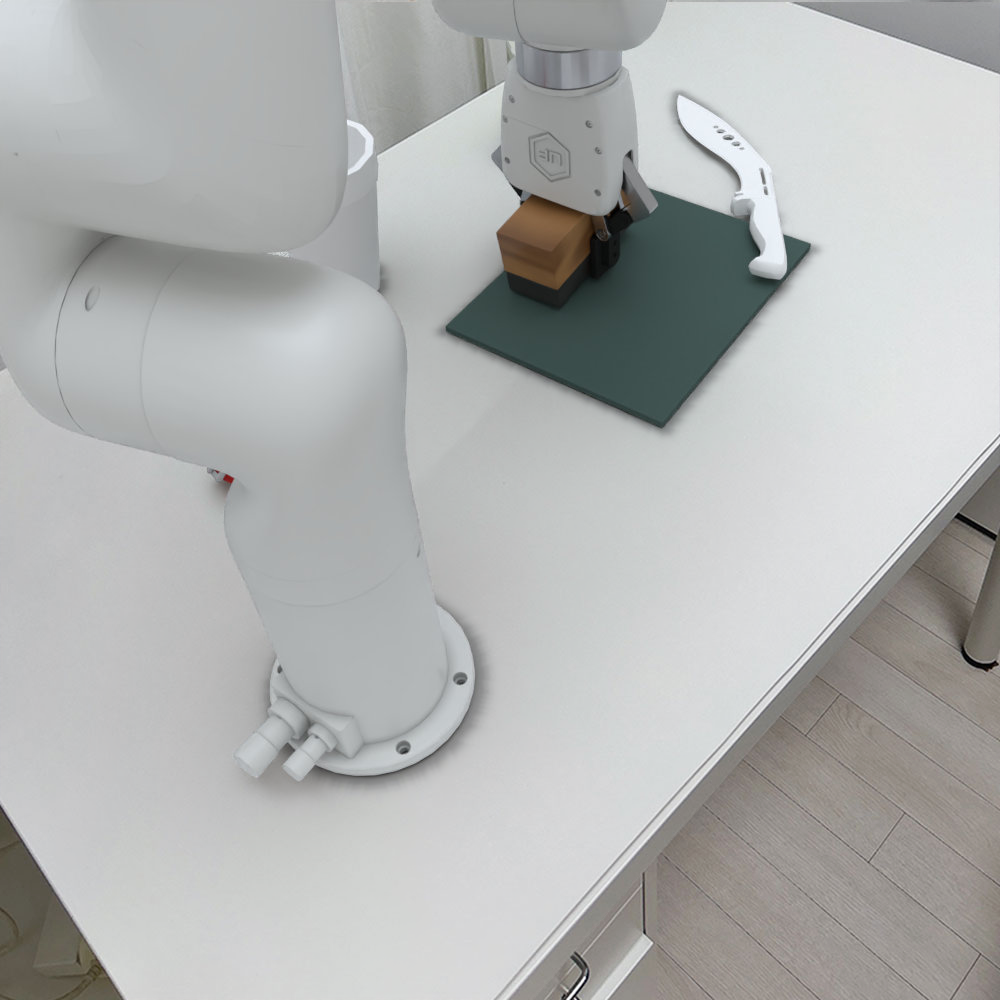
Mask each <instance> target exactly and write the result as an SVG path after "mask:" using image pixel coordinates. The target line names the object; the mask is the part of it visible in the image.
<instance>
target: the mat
mask: <svg viewBox="0 0 1000 1000" xmlns="http://www.w3.org/2000/svg"><path fill="white" fill-rule="evenodd" d="M648 188H649V190H650V191H651V193H652V194H653V196H654V198H655V199H656V201H657V203H658V208H657V209H656V210H655V211H654V212H653V213H652V214H651V215H650V216H649V217H648V218H645V219H643V220H641V221H639V222H636V223H633V224H631V225H630V227H629V228H628V229H627V230H626V231H625V232H624V234H623V235H622V236H621V237H620V257H619V260H618V262H617V263H616V264H615V265H614V266H613V267H612V268H609V269H608V270H607V271H606V272H605V273H604V274H603V275H602V276H601V277H600V278H599V279H595V278H593V277H591V275H590V273H589V274H588V276H587V277H586V278H585V279H584V280H583V281H582V283H581V284H580V285H579V286H578V287H577V288H576V290H575V291H574V292H573V293H572V294H571V295H570V297H569V298H568V299H567V300H566V301H565V302H564V304H563V305H562V306H561V307H560V308H558V307H556V306H553V305H550V304H548V303H545V302H542V301H540V300H537V299H535V298H532V297H529V296H527V295H524V294H521V293H519V292H516V291H514V290H511V289H510V288H509V284H508V279H507V275H506V271H505V270H504V269H503V271H502V272H501V273H500V274H499V275H497V276H496V277H495V278H494V279H493V280H492V281H491V282H490V283H489V284H488V285H487V286H486V287H485V288H484V289H482V290H481V292H480V293H479V294H478V295H477V296H475V298H473V299H472V300H471V301H470V302H469V303H468V304H467V305H466V306H465V307H464V308H463V309H462V310H460V311H459V312H458V313H457V314H456V315H455V316H454V317H453V318H452V319H451V320H450V321H448V323H447V324H446V325H445V332H446V333H448V334H451V335H453V336H455V337H457V338H459V339H462V340H463V341H466V342H469V343H470V344H473V345H475V346H478V347H479V348H482V349H484V350H487V351H488V352H490V353H493V354H496V355H497V356H499V357H502V358H504V359H507V360H509V361H511V362H514V363H516V364H517V365H519V366H522V367H524V368H526V369H529V370H531V371H533V372H536V373H538V374H540V375H542V376H545V377H548V378H549V379H551V380H553V381H556V382H558V383H561V384H562V385H565V386H567V387H569V388H571V389H574V390H576V391H579V392H581V393H583V394H584V395H587V396H590V397H592V398H594V399H596V400H598V401H600V402H603V403H605V404H606V405H609V406H612V407H613V408H617V409H619V410H621V411H624V413H625V412H626V413H627V414H630V415H632V416H634V417H637V418H639V419H640V420H643V421H646V422H648V423H649V424H652V425H655V426H657V427H659V428H661V429H662V428H664V427H665V425H666V424H667V423H668V422H669V421H670V419H671V418H672V417H673V415H674V414H675V413H677V411H678V410H679V409H680V407H681V406H682V404H684V402H685V401H686V400H687V399H688V398H689V396H691V394H692V393H693V392H694V390H695V389H696V388H697V387H698V385H700V383H701V382H702V380H703V379H704V378H705V377H706V376H707V375H708V374H709V372H710V371H711V370H712V368H713V367H714V366H715V365H716V364H717V363H718V362H719V360H720V359H721V358H722V356H723V355H724V354H725V353H726V352H727V351H728V349H729V348H730V347H731V345H733V343H734V342H735V341H736V340H737V338H738V337H739V336H740V335H741V334H742V332H743V331H744V330H745V329H746V327H747V326H748V325H749V324H750V323H751V322H752V320H753V319H754V318H755V317H756V315H757V314H758V313H759V311H761V309H762V308H763V307H764V305H765V304H767V302H768V301H769V299H770V298H771V297H772V296H773V295H774V293H775V292H777V290H778V289H779V288H780V286H781V285H782V284H783V283H784V282H785V280H786V279H787V278H788V277H789V275H791V273H792V272H793V271H794V269H796V268H797V266H798V264H800V263H801V261H802V260H803V258H804V257H805V256H806V255H807V254H808V253H809V251H810V250H811V247H812V243H810V242H807V241H804V240H802V239H798V238H795V237H792V236H790V235H787V234H784V233H783V238H784V243H785V249H786V255H787V271H786V273H785V275H784V276H783V277H782V278H781V279H780V280H779V279H770V278H764V277H760V276H757V275H753V274H752V273H751V272H750V270H749V264H750V263H751V261H752V260H754V259H755V258H756V257H759V256H760V253H761V251H760V250H759V248H758V246H757V245H756V243H755V242H754V240H753V237H752V235H751V232H750V230H749V227H750V221H746V220H743V219H740V218H737V217H736V216H731V215H729V214H726V213H723V212H720V211H717V210H714V209H712V208H708V207H706V206H703V205H699V204H697V203H694V202H692V201H688V200H686V199H683V198H679V197H676V196H673V195H670V194H668V193H666V192H665V193H664V192H662V191H659V190H656V189H652V188H650V187H648Z"/></svg>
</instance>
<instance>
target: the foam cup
mask: <svg viewBox="0 0 1000 1000" xmlns="http://www.w3.org/2000/svg"><path fill="white" fill-rule="evenodd" d="M347 130H348V175H347V181H346V187H345V191H344V196H343V201H342V204H341V207H340V209H339V211H338V213H337V215H336V217H335V219H334V221H333V222H332V223H331V224H330V226H329V227H328V228H327V229H326V230H325V231H324V232H323V233H322V234H321V235H320V236H318V237H317V238H316V239H315V240H313V241H311V242H309V243H307V244H305V245H303V246H301V247H299V248H295V249H292V250H288V251H286V252H287V255H288V257H290V258H296V259H300V260H305V261H309V262H313V263H317V264H321V265H324V266H327V267H330V268H333V269H336V270H339V271H342V272H344V273H346V274H349V275H351V276H353V277H355V278H357V279H359V280H361V281H363V282H365V283H366V284H368V285H370V286H371V287H372V288H374V289H375V290H376V291H378V292H379V290H380V287H381V286H380V284H381V264H380V262H381V261H380V238H379V235H380V234H379V213H378V209H379V208H378V189H377V188H378V186H377V185H378V184H377V182H378V181H379V159H378V155H377V149H376V144H375V143H376V142H375V138H374V136H373V135H372V133H370V132H369V130H368V129H367V128H366V127H365V126H364V125H363V124H361V123H358V122H356V121H353V120H350V119H348V118H347Z"/></svg>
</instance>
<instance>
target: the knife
mask: <svg viewBox="0 0 1000 1000" xmlns="http://www.w3.org/2000/svg"><path fill="white" fill-rule="evenodd" d="M677 96H678V97H677V99H676V110H677V116H678V119H679V121H680V124H681V125H682V127H683V128H684V130H685V131H686V132H687V133H688V134H689V135H690V136H691V137H692V138H693V139H694V140H695V141H697V142H698V143H699V144H701V145H702V146H703V147H705V148H706V149H708V150H709V151H711V152H712V153H714V154H716V155H717V156H718V157H720V158H722V159H723V160H724V161H725V162H726V163H728V164H729V166H731V167H732V169H734V171H735V173H737V175H738V177H739V180H740V190H738V191H734V197H733V198H732V200H731V203H730V206H729V207H730V212H731V214H732V215H734V217H736V216H750V217H749V223H750V227H749V230H750V232H751V235H752V237H753V240H754V242H755V243H756V245H757V246H758V248H759V250H760V251H761V253H760V256H759V257H756V258H755V259H754V260H752V261H751V263H750V264H749V270H750V272H751V273H752V274H753V275H757V276H760V277H764V278H770V279H779V280H780V279H781V278H782V277H783V276H784V275H785V273H786V271H787V255H786V249H785V243H784V238H783V234H784V233H783V227H782V223H781V217H780V211H779V205H778V199H777V197H776V192H775V185H774V180H773V176H772V168H771V166H770V165H769V164H768V163H767V162H766V161H765V159H764V158H763V157H762V156H761V155H760V154H759V153H758V152H757V151H756V150H755V148H754V146H752V145H751V144H750V143H749V142H748V141H747V140H746V139H745V138H744V137H743V136H742V135H741V134H740V133H739V132H738V131H737V130H736V129H735V128H734V127H733V126H732V125H730V124H729V123H728V122H726V121H725V120H724V119H722V118H721V117H719V116H718V115H716V114H715V113H713V112H712V111H710V110H708V109H706V108H705V107H703V106H702V105H700V104H698V103H696V102H694V101H693V100H690V98H689V99H688V98H687V97H686V96H682V95H681V94H678V95H677ZM725 138H730V139H728V140H727V139H725ZM761 172H762V173H761ZM762 174H763V178H764V183H765V184H764V183H763V178H762ZM765 191H766V194H765Z"/></svg>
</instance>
